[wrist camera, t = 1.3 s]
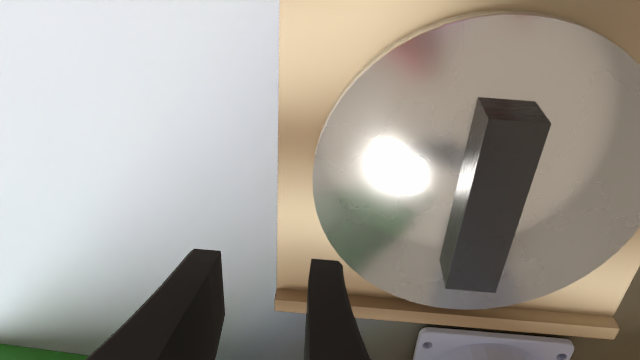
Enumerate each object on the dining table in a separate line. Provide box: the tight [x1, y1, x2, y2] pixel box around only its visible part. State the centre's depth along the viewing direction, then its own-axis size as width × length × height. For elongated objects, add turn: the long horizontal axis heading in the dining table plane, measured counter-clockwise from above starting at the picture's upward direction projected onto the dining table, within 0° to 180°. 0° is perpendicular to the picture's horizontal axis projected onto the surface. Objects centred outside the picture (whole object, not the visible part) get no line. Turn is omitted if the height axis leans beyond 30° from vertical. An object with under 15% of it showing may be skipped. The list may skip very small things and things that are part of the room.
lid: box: [312, 9, 640, 310], centre depth 16 cm, size 11×11×2 cm
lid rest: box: [275, 0, 640, 340], centre depth 18 cm, size 13×13×5 cm
